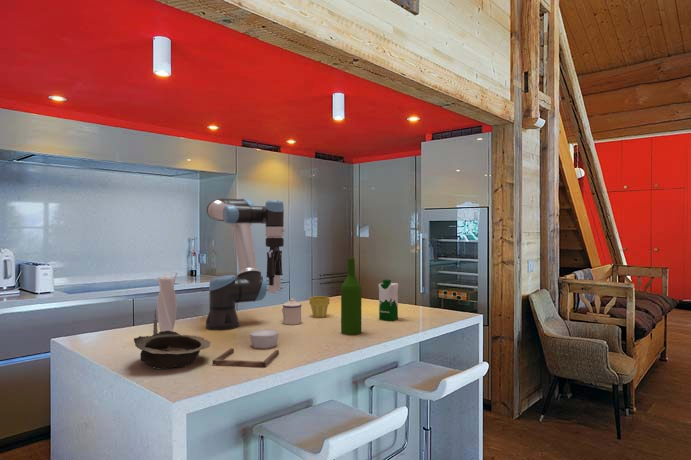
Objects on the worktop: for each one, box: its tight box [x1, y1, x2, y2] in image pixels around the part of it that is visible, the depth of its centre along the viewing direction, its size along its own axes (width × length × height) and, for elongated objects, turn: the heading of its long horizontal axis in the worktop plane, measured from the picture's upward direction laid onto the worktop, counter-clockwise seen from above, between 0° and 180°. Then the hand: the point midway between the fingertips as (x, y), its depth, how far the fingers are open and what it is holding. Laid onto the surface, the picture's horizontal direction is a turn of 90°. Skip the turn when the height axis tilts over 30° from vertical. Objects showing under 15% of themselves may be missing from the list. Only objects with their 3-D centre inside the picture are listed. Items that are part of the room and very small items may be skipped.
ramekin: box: [249, 329, 280, 350], centre depth 174 cm, size 11×11×5 cm
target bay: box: [212, 347, 280, 368], centre depth 156 cm, size 18×15×2 cm
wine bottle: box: [340, 257, 362, 336], centre depth 196 cm, size 9×9×32 cm
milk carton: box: [378, 279, 399, 322], centre depth 224 cm, size 9×9×20 cm
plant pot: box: [308, 295, 330, 318], centre depth 232 cm, size 10×10×10 cm
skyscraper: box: [152, 271, 178, 335], centre depth 184 cm, size 8×8×28 cm
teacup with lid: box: [281, 298, 302, 326], centre depth 217 cm, size 12×9×12 cm
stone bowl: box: [133, 330, 211, 369], centre depth 153 cm, size 25×25×9 cm
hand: (274, 291), depth 188 cm, fingers open, 7 cm apart
